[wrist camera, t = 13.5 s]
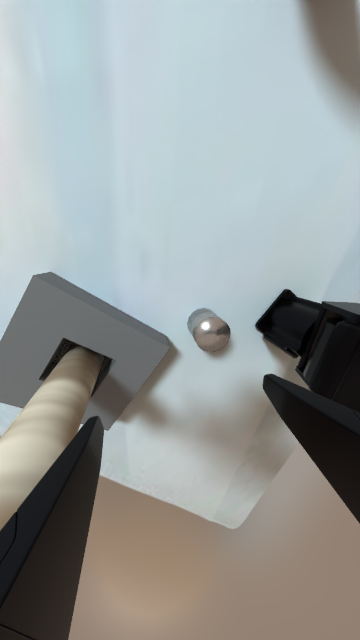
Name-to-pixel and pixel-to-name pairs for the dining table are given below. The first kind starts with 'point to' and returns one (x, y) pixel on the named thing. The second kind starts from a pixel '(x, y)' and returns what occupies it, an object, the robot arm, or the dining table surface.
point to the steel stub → (208, 330)
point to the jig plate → (84, 329)
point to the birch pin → (45, 426)
